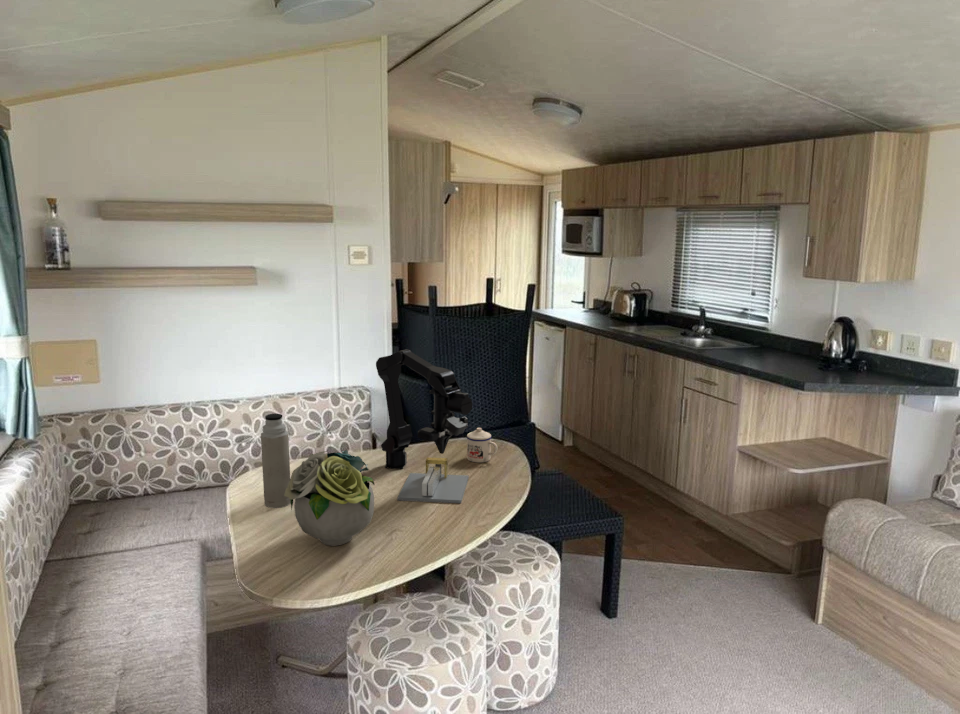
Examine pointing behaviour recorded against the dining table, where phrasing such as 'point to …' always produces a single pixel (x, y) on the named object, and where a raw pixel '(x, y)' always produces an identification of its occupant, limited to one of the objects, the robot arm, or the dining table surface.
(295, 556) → the dining table surface
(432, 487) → the tong arm
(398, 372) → the robot arm
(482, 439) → the teacup with lid
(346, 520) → the flower arrangement
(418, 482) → the tongs base
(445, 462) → the lock collar
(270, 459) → the thermos bottle
